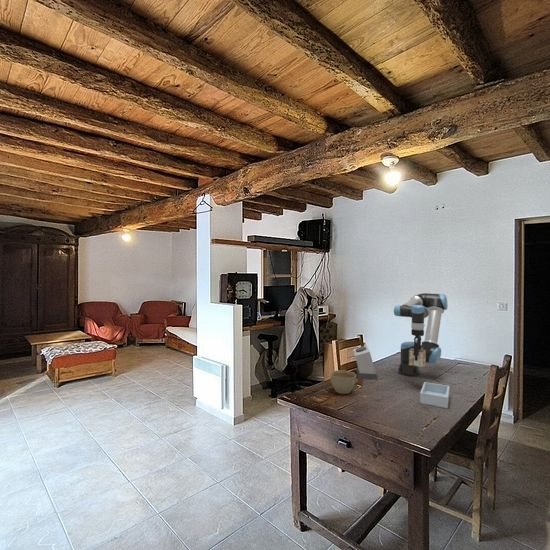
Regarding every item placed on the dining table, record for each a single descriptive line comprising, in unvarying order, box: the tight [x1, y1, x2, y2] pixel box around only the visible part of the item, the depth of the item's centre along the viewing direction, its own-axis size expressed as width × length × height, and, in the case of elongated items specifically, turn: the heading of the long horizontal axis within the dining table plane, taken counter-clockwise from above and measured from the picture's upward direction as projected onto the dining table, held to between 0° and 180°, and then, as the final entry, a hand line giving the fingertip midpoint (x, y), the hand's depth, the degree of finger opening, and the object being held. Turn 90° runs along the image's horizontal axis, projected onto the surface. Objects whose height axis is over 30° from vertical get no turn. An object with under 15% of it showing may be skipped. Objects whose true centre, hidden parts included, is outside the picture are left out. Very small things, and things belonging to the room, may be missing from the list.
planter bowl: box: [329, 370, 357, 395], centre depth 208 cm, size 16×16×11 cm
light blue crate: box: [419, 381, 450, 409], centre depth 196 cm, size 14×22×6 cm, turn 150°
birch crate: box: [409, 348, 427, 368], centre depth 217 cm, size 9×9×9 cm
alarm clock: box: [353, 345, 379, 381], centre depth 243 cm, size 20×16×20 cm
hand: (417, 363), depth 217 cm, fingers closed on birch crate, 9 cm apart
